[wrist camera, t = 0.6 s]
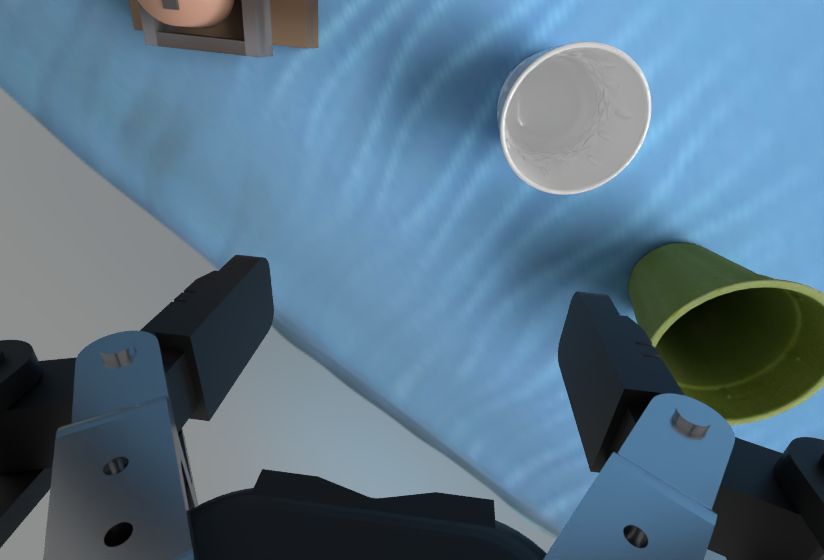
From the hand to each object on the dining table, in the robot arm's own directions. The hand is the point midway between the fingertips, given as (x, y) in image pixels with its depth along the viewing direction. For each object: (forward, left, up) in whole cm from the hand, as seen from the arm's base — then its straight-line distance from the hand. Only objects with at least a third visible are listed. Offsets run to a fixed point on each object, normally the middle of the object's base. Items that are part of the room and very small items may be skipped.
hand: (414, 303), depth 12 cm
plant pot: (+10, +21, -26) cm, 35 cm away
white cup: (-3, +7, -26) cm, 27 cm away
